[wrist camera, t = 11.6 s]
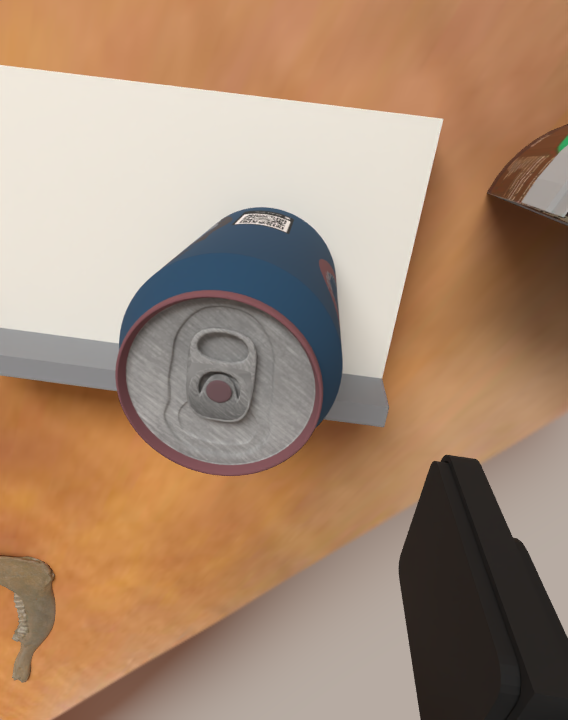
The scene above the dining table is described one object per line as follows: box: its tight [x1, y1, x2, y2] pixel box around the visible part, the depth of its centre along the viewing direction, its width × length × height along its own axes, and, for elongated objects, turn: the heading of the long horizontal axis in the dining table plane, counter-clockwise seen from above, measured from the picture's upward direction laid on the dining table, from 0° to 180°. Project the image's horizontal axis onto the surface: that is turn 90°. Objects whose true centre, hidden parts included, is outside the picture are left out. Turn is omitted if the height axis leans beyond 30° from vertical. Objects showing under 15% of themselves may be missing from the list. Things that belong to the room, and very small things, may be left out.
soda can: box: [115, 207, 343, 476], centre depth 18 cm, size 7×7×12 cm
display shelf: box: [0, 65, 443, 427], centre depth 23 cm, size 24×14×6 cm, turn 84°
